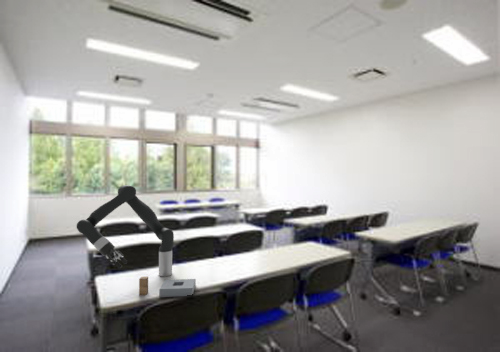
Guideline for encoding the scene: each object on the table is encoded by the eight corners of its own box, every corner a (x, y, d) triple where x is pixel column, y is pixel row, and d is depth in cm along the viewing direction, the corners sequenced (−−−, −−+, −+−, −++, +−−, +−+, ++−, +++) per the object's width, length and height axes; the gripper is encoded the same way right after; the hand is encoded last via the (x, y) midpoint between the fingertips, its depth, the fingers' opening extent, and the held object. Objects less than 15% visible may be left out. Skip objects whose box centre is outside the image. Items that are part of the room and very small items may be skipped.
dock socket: (165, 286, 170) (165, 279, 170) (195, 285, 172) (195, 278, 172) (159, 296, 155) (159, 289, 155) (192, 295, 157) (192, 287, 157)
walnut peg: (141, 292, 162) (141, 276, 162) (148, 292, 162) (148, 276, 162) (139, 295, 158) (139, 279, 158) (146, 295, 158) (146, 278, 158)
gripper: (103, 244, 152) (123, 264, 153) (113, 239, 166) (132, 257, 167) (93, 253, 151) (113, 273, 152) (104, 247, 166) (123, 266, 166)
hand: (123, 265), depth 159 cm, fingers open, 8 cm apart
